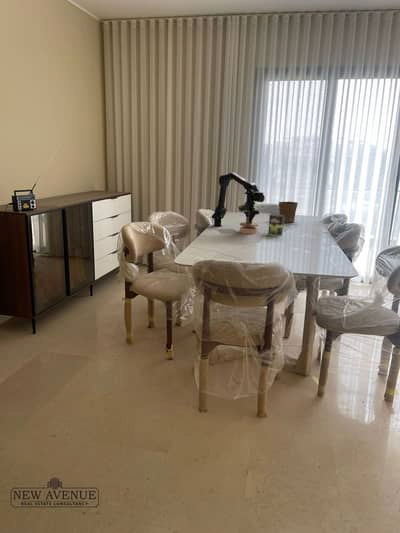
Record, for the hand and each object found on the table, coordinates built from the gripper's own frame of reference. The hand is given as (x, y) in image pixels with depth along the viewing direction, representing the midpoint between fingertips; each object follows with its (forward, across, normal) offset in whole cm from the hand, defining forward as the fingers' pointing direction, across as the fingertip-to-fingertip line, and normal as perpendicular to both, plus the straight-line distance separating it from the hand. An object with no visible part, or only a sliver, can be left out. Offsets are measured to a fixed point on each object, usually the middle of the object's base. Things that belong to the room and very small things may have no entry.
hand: (249, 222), depth 283 cm
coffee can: (+8, +11, +16) cm, 21 cm away
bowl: (+7, 0, 0) cm, 7 cm away
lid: (+2, 0, 0) cm, 2 cm away
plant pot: (+8, -32, +51) cm, 61 cm away
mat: (+7, -7, -14) cm, 17 cm away
